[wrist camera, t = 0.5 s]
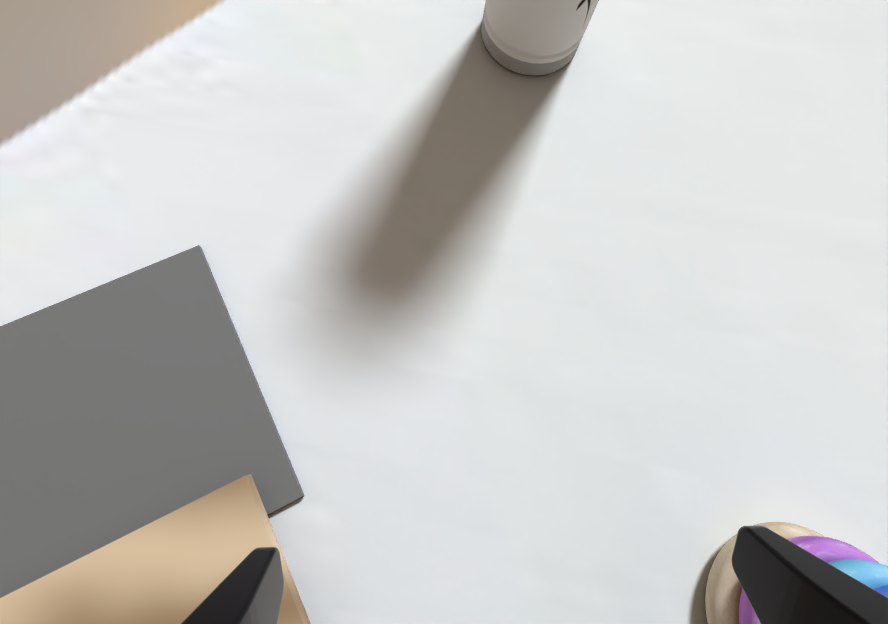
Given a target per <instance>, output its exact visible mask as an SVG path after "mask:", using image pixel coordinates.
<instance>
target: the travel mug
mask: <svg viewBox="0 0 888 624" xmlns="http://www.w3.org/2000/svg"><path fill="white" fill-rule="evenodd" d="M598 1H599V0H486V2H485V8H484V13H483V19H482V25H481V34H482V38H483V42H484V44H485V46H486V48H487V50H488V52H489V53H490V54H491V55H492V57H493V58H494V59H495V60H496V61H497V62H498V63H500V64H501V65H502V66H504V67H506V68H507V69H509V70H512V71H514V72H516V73H520V74H525V75H536V76H537V75H545V74H549V73H552V72H555V71H557V70H559V69H561V68H562V67H564V66H565V65H566V64H567V63H569V62H570V61H571V59H572V58H573V57H574V55H575V53H576V51H577V48H578V46H579V44H580V42H581V39H582V37H583V35H584V33H585V30H586V28H587V26H588V23H589V21H590V19H591V17H592V14H593V12H594V10H595V8H596V5H597V3H598Z"/></svg>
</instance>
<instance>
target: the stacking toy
mask: <svg viewBox="0 0 888 624" xmlns="http://www.w3.org/2000/svg"><path fill="white" fill-rule="evenodd" d="M753 526H764V527H766V528H768V529H770V530H772V531H773V532H775V533H777V534H779V535H780V536H782V537H784V538H786V539H787V540H789V541H791V542H792V543H794V544H796V545H798V546H799V547H801V548H803V549H805V550H806V551H808V552H810V553H811V554H813V555H815V556H817V557H818V558H820V559H822V560H824V561H825V562H827V563H829V564H830V565H832V566H834V567H836V568H837V569H839V570H841V571H843V572H844V573H846V574H848V575H849V576H851V577H853V578H855V579H856V580H858V581H860V582H862V583H863V584H865V585H867V586H868V587H870V588H872V589H874V590H875V591H877V592H879V593H881V594H882V595H884V596H886V597H887V598H888V566H885V565H882V564H879V563H878V562H877V561H876V560H875V559H873V558H872V557H870V556H869V555H867V554H866V553H864V552H863V551H861V550H859V549H857V548H856V547H854V546H852V545H850V544H847V543H845V542H842V541H839V540H836V539H832V538H828V537H824V536H822V535H820V534H818V533H817V532H815V531H813V530H810V529H808V528H805V527H802V526H799V525H796V524H791V523H785V522H767V523H760V524H756V525H753ZM737 534H738V533H737ZM737 534H736V535H735V536H733V537H732V538H731V539H730V540H729V541H728V542H727V543H726V544H725V545H724V546H723V547H722V549H721V550H720V551H719V553H718V555H717V556H716V558H715V560H714V562H713V565H712V567H711V570H710V573H709V576H708V581H707V586H706V597H705V604H706V616H707V622H708V624H761V623H760V621H759V619H758V617H757V615H756V613H755V611H754V609H753V607H752V605H751V604H750V602H749V600H748V598H747V596H746V594H745V592H744V590H743V588H742V586H741V584H740V582H739V580H738V578H737V576H736V574H735V572H734V570H733V566H732V553H733V549H734V545H735V542H736V538H737Z"/></svg>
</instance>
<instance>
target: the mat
mask: <svg viewBox="0 0 888 624" xmlns="http://www.w3.org/2000/svg"><path fill="white" fill-rule="evenodd" d="M249 474H251V475H252V478H253V480H254V483H255V485H256V488H257V490H258V493H259V495H260V498H261V500H262V503H263V506H264V508H265V511H266V513H267V515H268V514H270V513H272V512H274V511H276V510H277V509H279V508H281V507H283V506H285V505H287V504H289V503H291V502H293V501H295V500H297V499H299V498H301V497H302V496H304V494H303V491H302V489H301V486H300V484H299V482H298V479H297V477H296V474H295V472H294V469H293V467H292V465H291V462H290V460H289V457H288V455H287V453H286V450H285V448H284V445H283V443H282V441H281V438H280V436H279V433H278V431H277V429H276V426H275V424H274V421H273V419H272V417H271V414H270V412H269V409H268V407H267V405H266V402H265V400H264V397H263V395H262V393H261V390H260V388H259V385H258V383H257V381H256V378H255V376H254V373H253V371H252V369H251V366H250V364H249V361H248V359H247V356H246V354H245V352H244V349H243V347H242V344H241V342H240V340H239V337H238V335H237V332H236V330H235V328H234V325H233V323H232V320H231V318H230V316H229V313H228V311H227V308H226V306H225V304H224V301H223V299H222V296H221V294H220V292H219V289H218V287H217V284H216V282H215V280H214V277H213V275H212V272H211V270H210V268H209V265H208V263H207V260H206V258H205V255H204V253H203V251H202V248H201V247H200V246H199V245H198V246H196V247H193V248H191V249H189V250H186V251H184V252H181V253H179V254H176V255H174V256H171V257H169V258H167V259H164V260H162V261H159V262H157V263H154V264H152V265H150V266H147V267H145V268H142V269H140V270H137V271H135V272H132V273H130V274H128V275H125V276H123V277H120V278H118V279H115V280H113V281H110V282H108V283H106V284H103V285H101V286H98V287H96V288H93V289H91V290H88V291H86V292H84V293H81V294H79V295H76V296H74V297H71V298H69V299H66V300H64V301H62V302H59V303H57V304H54V305H52V306H49V307H47V308H44V309H42V310H40V311H37V312H35V313H32V314H30V315H27V316H25V317H22V318H20V319H18V320H15V321H13V322H10V323H8V324H5V325H3V326H0V598H2V597H4V596H6V595H8V594H10V593H12V592H14V591H15V590H17V589H19V588H21V587H23V586H25V585H27V584H29V583H31V582H33V581H35V580H37V579H39V578H41V577H43V576H45V575H47V574H49V573H51V572H53V571H55V570H57V569H59V568H61V567H63V566H65V565H67V564H69V563H71V562H73V561H75V560H77V559H79V558H81V557H83V556H85V555H87V554H89V553H91V552H93V551H95V550H97V549H99V548H101V547H103V546H105V545H107V544H109V543H111V542H113V541H115V540H117V539H119V538H121V537H123V536H125V535H127V534H129V533H131V532H133V531H135V530H137V529H139V528H141V527H143V526H145V525H147V524H149V523H151V522H153V521H155V520H157V519H159V518H161V517H163V516H165V515H167V514H169V513H171V512H173V511H175V510H177V509H179V508H181V507H183V506H185V505H187V504H189V503H191V502H193V501H195V500H197V499H199V498H201V497H203V496H205V495H207V494H209V493H211V492H213V491H215V490H217V489H219V488H221V487H223V486H225V485H227V484H229V483H231V482H233V481H235V480H237V479H239V478H241V477H243V476H245V475H249Z"/></svg>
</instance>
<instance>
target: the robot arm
mask: <svg viewBox="0 0 888 624" xmlns="http://www.w3.org/2000/svg"><path fill="white" fill-rule="evenodd" d="M732 566H733V570H734V572H735V574H736V576H737V578H738V580H739V582H740V584H741V586H742V588H743V590H744V592H745V594H746V596H747V598H748V600H749V602H750V604H751V605H752V607H753V609H754V611H755V613H756V615H757V617H758V619H759V621H760V623H761V624H888V598H887V597H886V596H884V595H882V594H881V593H879V592H877V591H875V590H874V589H872V588H870V587H868V586H867V585H865V584H863V583H862V582H860V581H858V580H856V579H855V578H853V577H851V576H849V575H848V574H846V573H844V572H843V571H841V570H839V569H837V568H836V567H834V566H832V565H830V564H829V563H827V562H825V561H824V560H822V559H820V558H818V557H817V556H815V555H813V554H811V553H810V552H808V551H806V550H805V549H803V548H801V547H799V546H798V545H796V544H794V543H792V542H791V541H789V540H787V539H786V538H784V537H782V536H780V535H779V534H777V533H775V532H773V531H772V530H770V529H768V528H766V527H764V526H743V527H741V528H740V529H739V531H738V534H737V538H736V542H735V545H734V549H733V553H732ZM283 588H284V578H283V572H282V565H281V558H280V552H279V550H278V548H276V547H260V548H256V549H254V550H253V551H252V552H251V553H250V554H249V555H248V556H247V557H246V558H245V559H244V560H243V561H242V562H241V563H240V564H239V565H238V566H237V567H236V568H235V569H234V570H233V571H232V572H231V573H230V574H229V575H228V576H227V577H226V578H225V579H224V580H223V581H222V582H221V583H220V584H219V585H218V586H217V587H216V588H215V589H214V590H213V591H212V592H211V593H210V594H209V596H208V597H207V598H206V599H205V600H204V601H203V602H202V603H201V604H200V605H199V606H198V607H197V608H196V609H195V610H194V611H193V612H192V613H191V614H190V615H189V616H188V617H187V618H186V619H185V620H184V621H183V622H182V623H181V624H277V620H278V615H279V610H280V605H281V600H282V595H283Z"/></svg>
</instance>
